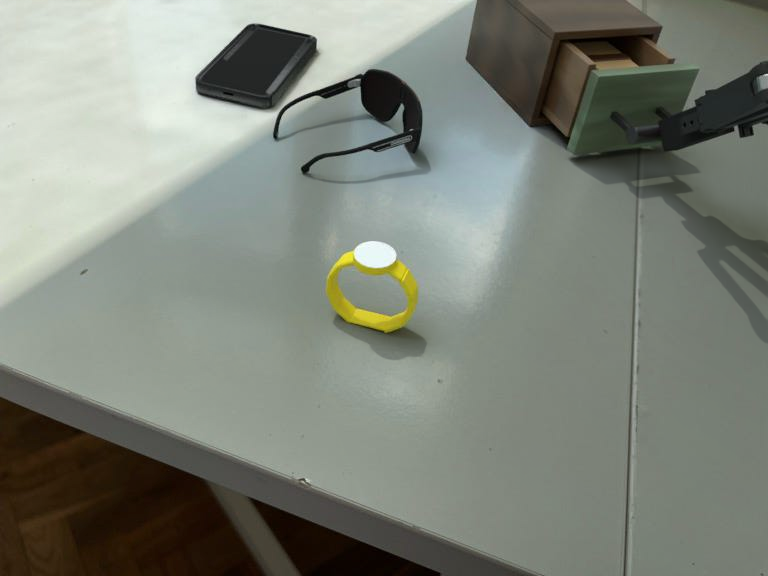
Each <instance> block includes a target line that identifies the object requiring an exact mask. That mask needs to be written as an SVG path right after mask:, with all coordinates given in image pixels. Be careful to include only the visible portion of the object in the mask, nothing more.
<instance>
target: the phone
mask: <svg viewBox="0 0 768 576" xmlns="http://www.w3.org/2000/svg"><path fill="white" fill-rule="evenodd" d="M317 46H318V38H317V37H316V36H314V35H312V34H307V33H304V32H299V31H295V30H291V29H290V30H289V29H285V28H281V27H276V26H273V25H267V24H263V23H250V24H247V25H246V26H244V28H243V29H242V30H241V31H240V32H239V33H237V35H236V36H235V37H234V38H233V39H231V41H230V42H229V43H228V44H226V46H225V47H223V48H222V50H221V51H220V52H218V53H217V55H216V56H215V57H214V58H212V59H211V61H209V63H207V64H206V65H205V67H204V68H203V69H202V70H201V71H199V72H198V73H197V75H196V76H195V78H194V79H195V91H196V92H197V93H199V94H201V95H204V96H209V97H212V98H217V99H221V100H226V101H231V102H234V103H238V104H242V105H248V106H251V107H256V108H261V109H268V108H271V107H273V106H274V105H275V104H277V102H278V101H279V99H280V98H281V97H282V96H283V94H284V93H285V92H286V91H287V89H288V88H289V86H290V85H291V84H292V83H293V81H294V80H295V79H296V77H297V76H298V75H299V74H300V72H301V71H302V70H303V68H304V67H305V66H306V65H307V63H308V62H309V61H310V59H311V58H312V57H313V56H314V54H316V51H317Z"/></svg>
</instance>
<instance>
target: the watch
mask: <svg viewBox="0 0 768 576" xmlns="http://www.w3.org/2000/svg"><path fill="white" fill-rule="evenodd" d="M397 258H398V254H397V252H396V250H395V249H394V248H393V246H391V245H389V244H388V243H385V242H382V241H377V240H372V241H370V240H369V241H365V242H361V243H360V244H358V245H357V246H356V247H355V248H354V249H353V250H351V251H348V252H345V253H343V254H342V256H341V257H340V258H339V259H338V260H337V261H336V262H335V264H333V267H332V268H331V269H330V271H329V273H328V274H327V277H326V286H325V287H326V288H325V293H326V296H327V299H328V301H329V303H330V305H331V307H332V309H333V310H334V311H335V312H336V313H337V314H338V315H339V316H340V317H341V318H342V319H343V320H345V322H346V323H349V324H354V325H357V326H361V327H365V328H369V329H374V330H377V331H382V332H384V333H385V334H387V333H391V332H393V331H396V330H398V329H401V328H404V326H406V324H407V323H408V322H409V320H410V319H411V318H412V316H413V314H414V312H415V310H416V308H417V305H418V302H419V286H418V282H417V281H416V279H415V277H414V276H413V273H412V272H411V270H410V269H409V268H408V267H407V266H406V265H405V264H404V263H402V262H401V261H400V260H399V259H397ZM352 266H353V267H355V269H356V270H357V271H359V272H361V273H363V274H365V275H368V276H377V277H378V276H383V275H384V276H385V275H389V276H390V277H392V278H393V279H395V281H397V282H398V283H399V286H401V288H402V290H403V292H404V293H405V296H406V297H407V300H406V301H407V302H406V303H407V307H406V309H405V310H404V311H403V312H400V313H397V314H395V315H392V316H390V315H386V314H382V313H377V312H373V311H369V310H366V309H365V310H364V309H361V308H357V307H356V306H355V305H353V303H352V302H350V301H349V300H348V299H347V298H346V297H345V296H344V294H343V291H342V289H341V287H340V285H339V283H338V281H339V273H340V271H342V269H345V268H348V267H352Z"/></svg>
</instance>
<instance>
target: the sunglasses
mask: <svg viewBox="0 0 768 576" xmlns="http://www.w3.org/2000/svg"><path fill="white" fill-rule="evenodd" d="M357 88H360V101H361V105H362V107H363V108H364V109H365V111H366V112H367V113H368V114H369V115H370V116H372V117H373V118H374V119H376V121H379V122H382V123H388V122H390V121H391V120H392V119H393V118H394V117H395V116H396V114H397V113H398V111H399V110H400V107H401V105H403V110H402V114H401V117H402V121H401V122H402V128H403V129H402V131H403V132H401V133H398V134H395V135H391V136H388V137H386V138H383V139H379V140H376V141H373V142H370V143H367V144H364V145H361V146H358V147H354V148H351V149H350V148H349V149H346V150H340V151H332V152H325V153H321V154H317V155H316V156H314V157H313V158H311V159H310V160H309V161H307V162H306V163H304V164H302V166H301V167H300V171H301V172H302V173H303V174H306V173H309V172H310V169H311V167H312V166H313V165H314V164H315V163H318V161H321V160H324V159H327V158H334V157H341V156H347V155H352V154H357V153H360V152H363V151H367V150H368V151H373V152H375V153H381V152H384V151H387V150H390V149H393V148H396V147H399V146H403V145H404V147H405V148H406V149H407V151H408V152H409V153H410V154H412V155H416V154H417V151H418V149H419V146H420V142H421V138H422V133H423V132H422V131H423V120H424V118H423V117H424V116H423V115H424V114H423V108H422V104H421V100H420V99H419V97H418V95H417V93H416V92H415V91H414V90H413V88H412V87H410V85H409V84H408V83H407V82H406V81H405V80H403V79H402V78H401V77H399V76H398V75H396V74H394V73H392V72H390V71H388V70H383V69H378V68H370V69H367V70H366V71H365V72H364V74H363V73H359V74H356V75H355V76H352V77H350V78H347V79H344V80H342V81H339V82H335V83H334V84H331V85H328V86H324V87H322V88H320V89H317V90H314V91H311V92H308V93H306V94H303V95H301V96H299V97H296V98H295V99H293V100H291V101H289V102H288V103H287V104H285V105H284V106H283V107H282V108H281V109H280V111H279V112H278V114H277V116H276V119H275V123H274V127H273V131H272V132H273V133H272V137H273V139H274V140H277V139H278V137H279V130H280V129H279V128H280V124H281V120H282V118H283V115H284V114H285V112H286V111H288V110H289V109H290V108H292V107H293V106H295V105H297V104H298V103H301V102H303V101H305V100H308V99H310V98H313V97H320V98H322V99H325V100H327V99H331V98H332V97H336V96H338V95H340V94H344V93H346V92H349V91H352V90H354V89H357Z"/></svg>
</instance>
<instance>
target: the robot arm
mask: <svg viewBox="0 0 768 576" xmlns="http://www.w3.org/2000/svg"><path fill="white" fill-rule="evenodd" d="M704 94H705V95H702V96H699V97H698V98H696V99H694V106H692V107H690V108H687V109H685V110H683V111H682V112H680V113H677V114H675V115H672V116H670V117H667V118H665V119H662V120H660V121H658V124H659V129H660V135H661V140H662V151H663V153H667V152H674V151H675V152H676V151H679V150H683V149H686V148H689V147H692V146H695V145H698V144H701V143H703V142H707V141H710V140H712V139H717V138H719V137H722V136H725V135H727V134H732V133H734V132H736V130H735V127H736V126H737V129H738V137H739V138H740V139H744V138H748V137H749V138H750V137H752V136H755V135H754V134H755V133H754V127H753V126H756V125H759V124H761V125H767V126H768V60H763V61H760V62H759V63H758V64H756V65H754V66H753V67H752V68H751V69H750V70H749V71H748V72H746V73H744V74H743V75H741V76H739V77H737V78H735V79H733V80H731V81H729V82H727V83H725V84H723V85H721V86H719V87H717V88H715V89H707V90H704Z"/></svg>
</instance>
